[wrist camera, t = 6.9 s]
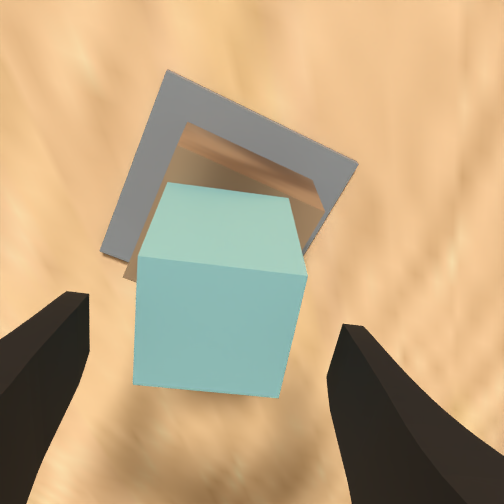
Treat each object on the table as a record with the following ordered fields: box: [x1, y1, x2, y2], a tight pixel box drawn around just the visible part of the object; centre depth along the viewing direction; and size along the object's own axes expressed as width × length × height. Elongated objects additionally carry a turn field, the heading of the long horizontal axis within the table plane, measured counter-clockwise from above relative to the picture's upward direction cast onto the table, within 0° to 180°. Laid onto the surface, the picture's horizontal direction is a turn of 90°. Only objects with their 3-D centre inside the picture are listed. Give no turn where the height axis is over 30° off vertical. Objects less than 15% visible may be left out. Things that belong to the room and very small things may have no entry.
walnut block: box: [123, 122, 325, 283], centre depth 20 cm, size 6×6×4 cm
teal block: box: [133, 182, 308, 398], centre depth 16 cm, size 4×4×6 cm
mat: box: [100, 70, 359, 262], centre depth 22 cm, size 9×9×1 cm
